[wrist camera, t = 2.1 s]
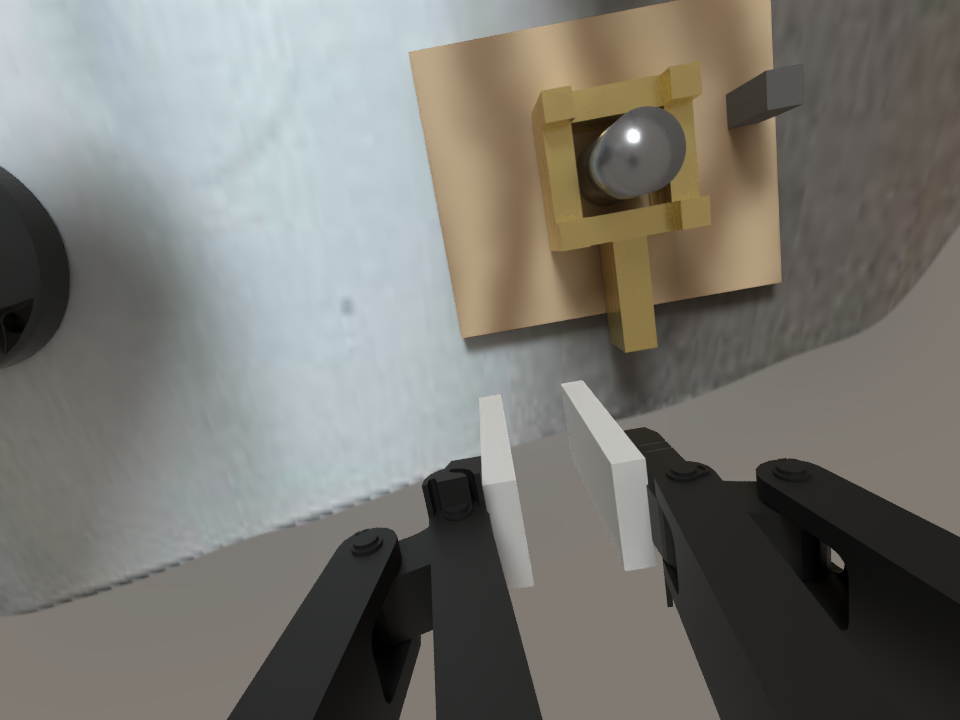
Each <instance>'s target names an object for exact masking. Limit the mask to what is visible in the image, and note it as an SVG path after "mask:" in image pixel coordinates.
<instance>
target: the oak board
mask: <svg viewBox="0 0 960 720" xmlns="http://www.w3.org/2000/svg"><path fill="white" fill-rule="evenodd" d="M409 57H410V63H411V68H412V73H413V79H414V84H415V89H416V95H417V100H418V106H419V111H420V116H421V122H422V127H423V132H424V138H425V143H426V148H427V154H428V159H429V164H430V170H431V175H432V180H433V186H434V191H435V196H436V202H437V207H438V212H439V218H440V223H441V228H442V234H443V239H444V245H445V250H446V255H447V261H448V266H449V271H450V277H451V282H452V287H453V293H454V298H455V303H456V309H457V314H458V319H459V325H460V330H461V335H462V338H467V337H472V336H478V335H484V334H489V333H495V332H501V331H507V330H512V329H518V328H524V327H529V326H535V325H541V324H546V323H552V322H558V321H564V320H569V319H575V318H581V317H586V316H592V315H598V314H603V313H607V307H606V298H605V290H604V281H603V273H602V265H601V256H600V248H599V244H597V245H591V246H590V247H585V248H579V249H573V250H568V251H550V245H549V238H548V231H547V224H546V217H545V210H544V203H543V196H542V188H541V181H540V174H539V167H538V160H537V153H536V146H535V139H534V132H533V125H532V117H531V113H532V111H533V109H534V106H535V104H536V102H537V99H538V97H539V95H540V92H541V91H543V90H548V89H553V88H559V87H564V86H569V85H571V88H572V91H575V90H581V89H586V88H591V87H596V86H602V85H607V84H612V83H618V82H623V81H628V80H634V79H639V78H644V77H650V76H655V75H660V74H662V73H663V72H664V71H665V70H666V69H667V68H669V67H670V66H675V65H681V64H686V63H691V62H696V61H700V68H701V82H702V94H701V95H700V96H698V97H697V98H695V99H694V100H693V112H694V126H695V140H696V153H697V167H698V181H699V194H700V197H702V196H708V195H709V198H710V212H711V225H707V226H702V227H696V228H690V229H685V230H675V231H669V232H664V233H658V234H652V235H647V244H648V254H649V264H650V274H651V285H652V295H653V305H655V304H660V303H666V302H672V301H678V300H683V299H689V298H695V297H700V296H706V295H712V294H717V293H723V292H729V291H735V290H740V289H746V288H752V287H757V286H763V285H769V284H774V283H780V282H782V280H781V255H780V230H779V204H778V179H777V154H776V129H775V116H774V117H772V118H770V119H767V120H765V121H763V122H761V123H757V124H751V125H746V126H741V127H735V128H730V129H728V125H727V108H726V94H728V93H730V92H731V91H733V90H735V89H736V88H738V87H739V86H741V85H743V84H744V83H746V82H748V81H749V80H751V79H753V78H754V77H756V76H758V75H759V74H761V73H763V72H764V71H766V70H771V69H773V53H772V27H771V2H770V0H677V1H672V2H667V3H661V4H656V5H651V6H646V7H641V8H635V9H630V10H625V11H620V12H615V13H609V14H604V15H599V16H594V17H589V18H583V19H578V20H573V21H568V22H563V23H558V24H552V25H547V26H542V27H537V28H532V29H526V30H521V31H516V32H511V33H506V34H500V35H495V36H490V37H485V38H480V39H474V40H469V41H464V42H459V43H454V44H448V45H443V46H438V47H433V48H428V49H422V50H417V51H412V52H409ZM607 129H608V128H605V129H600V130H595V131H589V132H584V133H578V134H573V135H572V136H573V144H574V152H575V160H576V161H577V159H578V157H579V155H580V154H581V153H582V151H583V150H584V149H585V148H586V147H587V146H589V145H590V144H591V143H592V142H593V141H594V140H595V139H596V138H598V137H599V136H600V135H601V134H602V133H603V132H604V131H606V130H607ZM580 200H581V208H582V216H583V218H586V217H587V218H588V217H594V216H599V215H605V214H610V213H616V212H621V211H627V210H632V209H638V208H644V207H649V206H650V196H649V193H647V194H644V195H641V196H638V197H634V198H631V199H628V200H625V201H621V202H618V203H615V204H611V205H606V206H600V205H595V204H592V203H590V202H588V201H587V200H585V199H584V198H583V197H582V196H581V195H580Z"/></svg>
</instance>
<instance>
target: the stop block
mask: <svg viewBox="0 0 960 720" xmlns="http://www.w3.org/2000/svg"><path fill="white" fill-rule="evenodd" d="M802 104H804V73H803V64H798V65H793V66H787V67H782V68H777V69H771V70H766V71H764V72H763V73H761V74H759V75H758V76H756V77H754V78H753V79H751V80H749V81H748V82H746V83H744V84H743V85H741V86H739V87H738V88H736V89H735V90H733V91H731V92H730V93H728V94H726V108H727V125H728V129H730V128H735V127H741V126H746V125H751V124H757V123H761V122H763V121H765V120H767V119H770V118H772V117H774V116H777V115H779V114H781V113H784V112H786V111H788V110H791V109H793V108H795V107H797V106H800V105H802Z"/></svg>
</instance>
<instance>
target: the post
mask: <svg viewBox="0 0 960 720" xmlns="http://www.w3.org/2000/svg"><path fill="white" fill-rule="evenodd" d="M685 155H686V139H685V135H684V131H683V129H682V127H681V125H680V123H679V122H678V120H677V119H676V118H675V117H674V116H673V115H672V114H670V113H669V112H668V111H666V110H664V109H661V108H658V107H654V106H643V107H638V108H635V109H633V110H630V111H629V112H627V113H625V114H624V115H623V116H621V117H620V118H619V119H618V120H617V121H616V122H615V123H613V124H612V125H611V126H610V127H609V128H608V129H607V130H606V131H604V132H603V133H602V134H601V135H600V136H599V137H598V138H596V139H595V140H594V141H593V142H592V143H591V144H590V145H589V146H587V147H586V148H585V149H584V150H583V151H582V153H581V154H580V155H579V157H578V159H577V161H576V168H577V176H578V184H579V192H580V195H581V196H582V197H583V198H584V199H585V200H587V201H588V202H590V203H592V204H595V205H600V206H606V205H611V204H615V203H618V202H621V201H625V200H628V199H631V198H634V197H638V196H641V195H644V194H647V193H651V192H654V191H657V190H659V189H661V188H663V187H665V186H666V185H667V184H669V183H670V182H671V181H672V180H673V179H674V178H675V177H676V175H677V174H678V172H679V171H680V169H681V167H682V165H683V162H684V159H685Z"/></svg>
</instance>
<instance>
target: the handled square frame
mask: <svg viewBox="0 0 960 720" xmlns="http://www.w3.org/2000/svg"><path fill="white" fill-rule="evenodd" d="M701 94H702V82H701V68H700V61H696V62H691V63H686V64H681V65H675V66H670V67H669V68H667V69H666V70H665V71H664V72H663V73H662V74H660V75H655V76H650V77H644V78H639V79H634V80H628V81H623V82H618V83H612V84H607V85H602V86H596V87H591V88H586V89H581V90H575V91H572V88H571V85H569V86H564V87H559V88H553V89H548V90H543V91H541V92H540V95H539V97H538V99H537V102H536V104H535V106H534V109H533V111H532V113H531V117H532V125H533V132H534V139H535V146H536V153H537V160H538V167H539V174H540V181H541V188H542V196H543V203H544V210H545V217H546V224H547V231H548V238H549V245H550V251H568V250H573V249H579V248H585V247H590V246H591V245H597V244H599V248H600V256H601V265H602V273H603V281H604V290H605V298H606V307H607V315H608V323H609V332H610V340H611V343H612V344H614V345H615V346H616V347H618V348H619V349H621V350H622V351H624V352H625V353H627V352H633V351H639V350H645V349H650V348H656V347H658V346H657V336H656V326H655V315H654V305H653V295H652V285H651V274H650V264H649V254H648V244H647V235H652V234H658V233H664V232H669V231H675V230H685V229H690V228H696V227H702V226H707V225H711V212H710V198H709V195H708V196H702V197H700V194H699V181H698V167H697V153H696V140H695V126H694V112H693V100H694V99H695V98H697V97H698V96H700V95H701ZM643 106H654V107H658V108H661V109H664V110H666V111H668V112H669V113H670V114H672V115H673V116H674V117H675V118H676V119H677V120H678V122H679V123H680V125H681V127H682V129H683V131H684V135H685V139H686V155H685V159H684V162H683V165H682V167H681V169H680V171H679V172H678V174H677V175H676V177H675V178H674V179H673V180H672V181H671V182H670V183H669V184H667V185H666V186H665V187H663V188H661V189H659V190H657V191H654V192H651V193H649V196H650V206H649V207H644V208H638V209H632V210H627V211H621V212H616V213H610V214H605V215H599V216H594V217H588V218H587V217H586V218H583V216H582V208H581V200H580V192H579V184H578V176H577V168H576V160H575V152H574V144H573V136H572V135H573V134H578V133H584V132H589V131H595V130H600V129H605V128H609V127H610V126H611V125H612V124H613V123H615V122H616V121H617V120H618V119H619V118H620V117H621V116H623V115H624V114H625V113H627V112H629V111H630V110H633V109H635V108H638V107H643Z"/></svg>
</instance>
